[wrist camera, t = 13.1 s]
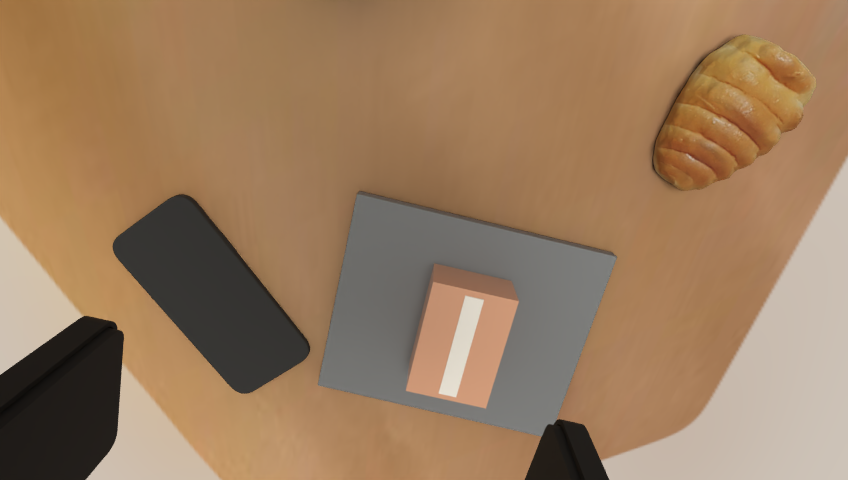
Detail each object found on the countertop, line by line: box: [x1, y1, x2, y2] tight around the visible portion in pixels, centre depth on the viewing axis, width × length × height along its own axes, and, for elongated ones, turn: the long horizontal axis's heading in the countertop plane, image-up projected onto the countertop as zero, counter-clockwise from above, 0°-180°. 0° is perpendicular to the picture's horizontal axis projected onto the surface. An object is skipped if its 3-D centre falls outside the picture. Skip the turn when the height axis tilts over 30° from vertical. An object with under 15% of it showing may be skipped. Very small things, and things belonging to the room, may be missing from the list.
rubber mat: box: [318, 191, 617, 436], centre depth 36 cm, size 18×15×1 cm
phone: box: [113, 195, 310, 393], centre depth 37 cm, size 7×1×15 cm
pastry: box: [653, 35, 816, 191], centre depth 31 cm, size 9×7×4 cm
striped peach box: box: [406, 263, 519, 408], centre depth 34 cm, size 8×6×4 cm
